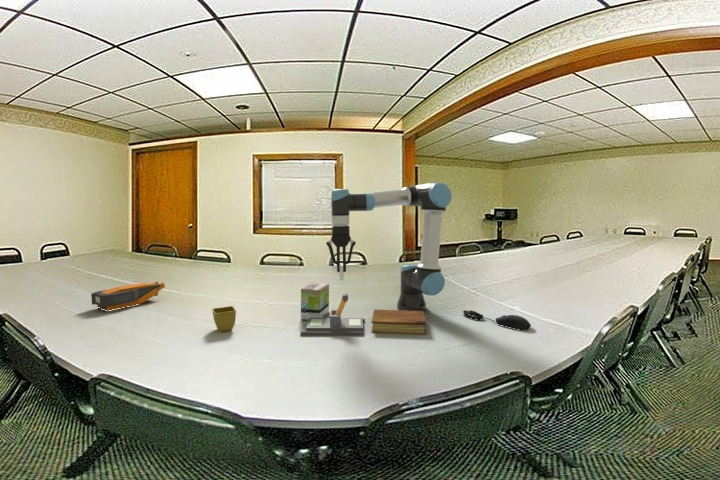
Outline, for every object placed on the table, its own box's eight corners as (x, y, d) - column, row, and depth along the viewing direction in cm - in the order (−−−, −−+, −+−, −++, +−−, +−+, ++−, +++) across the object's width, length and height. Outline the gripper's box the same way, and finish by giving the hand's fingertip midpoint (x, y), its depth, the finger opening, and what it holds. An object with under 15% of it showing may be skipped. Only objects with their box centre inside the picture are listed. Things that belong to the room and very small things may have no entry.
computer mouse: (526, 333, 160) (527, 320, 160) (458, 317, 182) (458, 306, 182) (534, 328, 167) (534, 315, 167) (467, 313, 189) (467, 302, 189)
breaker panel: (362, 323, 172) (362, 308, 172) (363, 333, 158) (363, 317, 158) (310, 323, 172) (310, 308, 172) (306, 333, 158) (305, 317, 158)
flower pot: (215, 334, 157) (214, 313, 156) (212, 328, 165) (211, 308, 164) (236, 331, 161) (236, 310, 160) (233, 325, 169) (232, 305, 168)
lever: (337, 320, 168) (349, 294, 167) (337, 325, 162) (348, 297, 161) (332, 318, 168) (343, 292, 167) (331, 322, 162) (343, 295, 161)
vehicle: (169, 299, 215) (169, 282, 214) (103, 314, 186) (101, 294, 185) (156, 296, 222) (155, 279, 221) (90, 309, 194) (88, 290, 193)
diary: (423, 322, 176) (423, 310, 175) (426, 336, 157) (426, 323, 156) (374, 320, 178) (374, 308, 177) (371, 333, 159) (371, 320, 159)
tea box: (320, 320, 176) (320, 289, 174) (300, 319, 178) (299, 288, 176) (329, 311, 190) (329, 283, 189) (310, 310, 192) (310, 282, 191)
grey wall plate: (364, 321, 175) (364, 318, 175) (365, 335, 156) (365, 332, 156) (306, 321, 175) (306, 318, 175) (300, 335, 156) (300, 332, 156)
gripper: (356, 224, 165) (356, 277, 167) (326, 225, 165) (327, 278, 167) (355, 225, 157) (356, 281, 160) (324, 226, 157) (325, 281, 160)
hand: (341, 279), depth 164 cm, fingers closed
